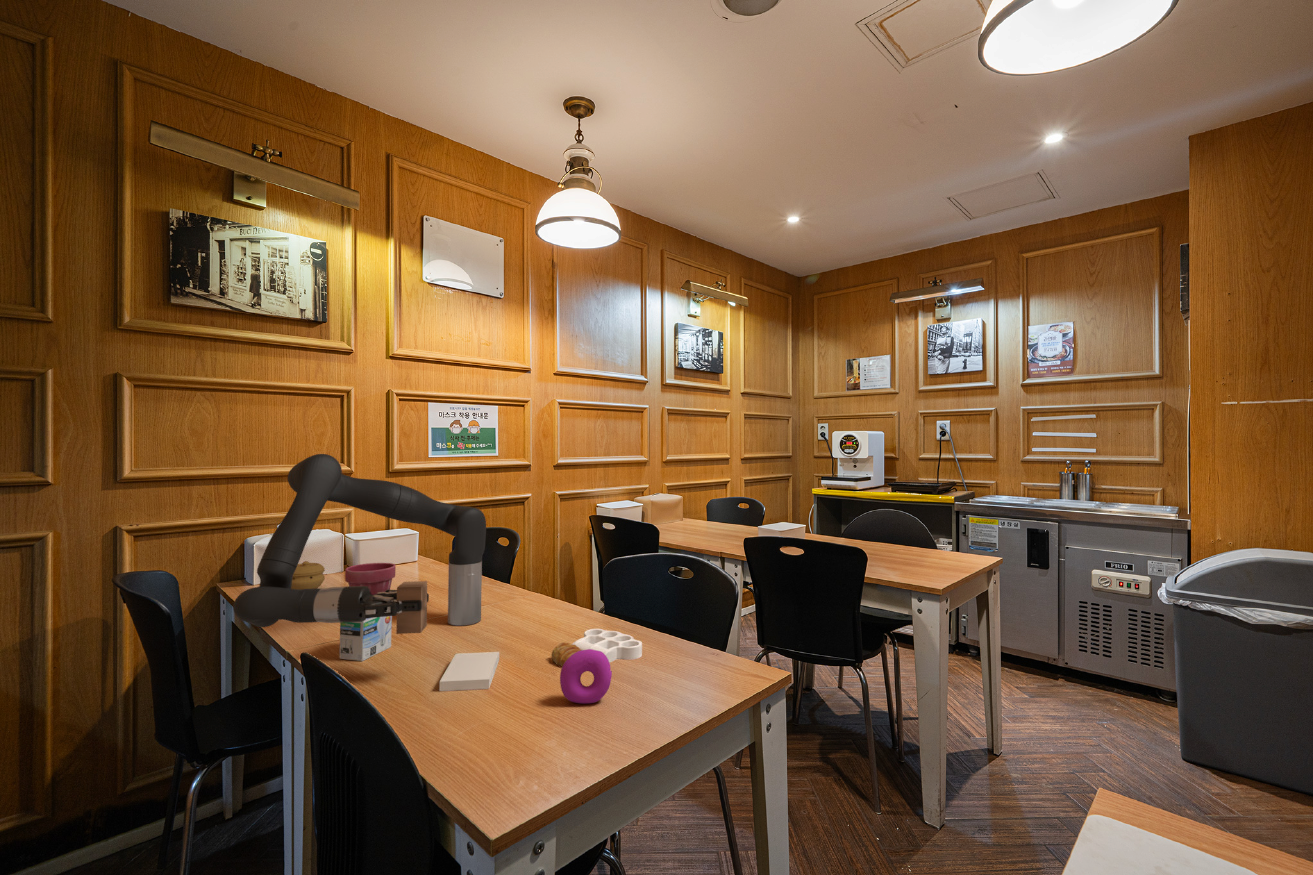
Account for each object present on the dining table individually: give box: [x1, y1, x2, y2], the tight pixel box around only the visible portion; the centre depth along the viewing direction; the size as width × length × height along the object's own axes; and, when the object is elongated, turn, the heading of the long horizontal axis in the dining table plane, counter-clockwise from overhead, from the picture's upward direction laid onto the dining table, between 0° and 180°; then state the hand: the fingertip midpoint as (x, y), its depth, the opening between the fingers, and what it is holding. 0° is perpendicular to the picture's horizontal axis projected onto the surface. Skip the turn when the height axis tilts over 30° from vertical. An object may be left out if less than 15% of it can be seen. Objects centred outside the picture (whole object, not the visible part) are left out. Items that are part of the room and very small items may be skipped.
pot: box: [291, 560, 326, 589], centre depth 197 cm, size 12×12×10 cm
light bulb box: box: [339, 616, 393, 662], centre depth 138 cm, size 11×7×11 cm, turn 168°
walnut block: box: [395, 580, 428, 635], centre depth 124 cm, size 5×5×10 cm
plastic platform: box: [439, 651, 500, 692], centre depth 125 cm, size 16×10×2 cm, turn 8°
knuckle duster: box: [571, 628, 643, 664], centre depth 141 cm, size 3×18×15 cm
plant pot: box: [344, 562, 397, 595], centre depth 177 cm, size 14×14×13 cm
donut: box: [559, 649, 613, 704], centre depth 113 cm, size 8×9×10 cm
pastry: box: [551, 641, 581, 668], centre depth 133 cm, size 9×7×4 cm
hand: (424, 601), depth 124 cm, fingers closed on walnut block, 5 cm apart
